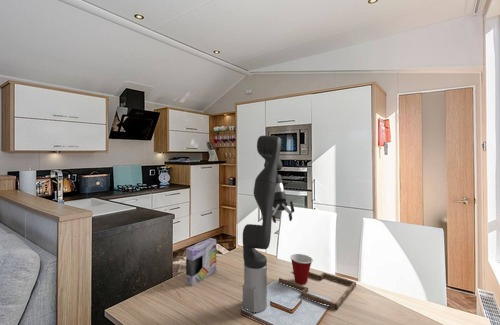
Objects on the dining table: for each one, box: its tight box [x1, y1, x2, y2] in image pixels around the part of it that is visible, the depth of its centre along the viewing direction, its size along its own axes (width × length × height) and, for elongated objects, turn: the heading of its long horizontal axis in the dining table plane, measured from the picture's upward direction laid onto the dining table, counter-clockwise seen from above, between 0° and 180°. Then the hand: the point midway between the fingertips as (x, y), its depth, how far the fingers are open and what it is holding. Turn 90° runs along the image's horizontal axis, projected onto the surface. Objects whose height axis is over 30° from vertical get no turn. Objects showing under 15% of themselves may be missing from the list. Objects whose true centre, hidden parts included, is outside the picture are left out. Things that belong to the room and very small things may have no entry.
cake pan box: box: [185, 237, 217, 287], centre depth 129 cm, size 19×5×18 cm, turn 148°
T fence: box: [278, 271, 357, 311], centre depth 121 cm, size 24×30×2 cm
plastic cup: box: [289, 253, 314, 285], centre depth 125 cm, size 11×11×12 cm
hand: (283, 221), depth 140 cm, fingers open, 8 cm apart
